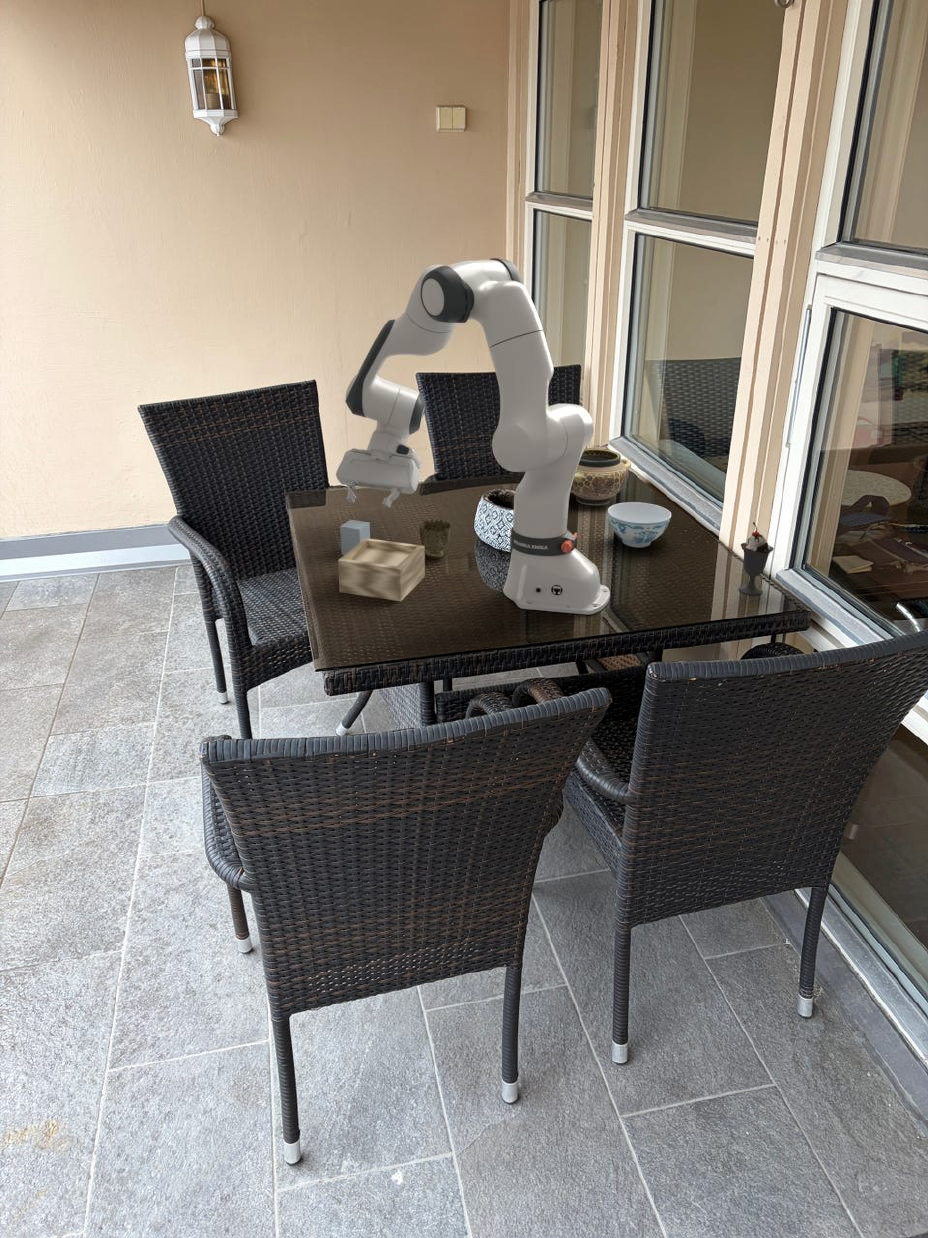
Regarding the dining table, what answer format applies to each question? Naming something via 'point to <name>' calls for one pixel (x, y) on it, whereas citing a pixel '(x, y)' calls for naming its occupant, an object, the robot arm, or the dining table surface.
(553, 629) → the dining table surface
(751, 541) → the sundae
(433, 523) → the cup
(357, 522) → the slate block
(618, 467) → the ceramic bowl
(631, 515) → the chinaware
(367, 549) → the maple box
